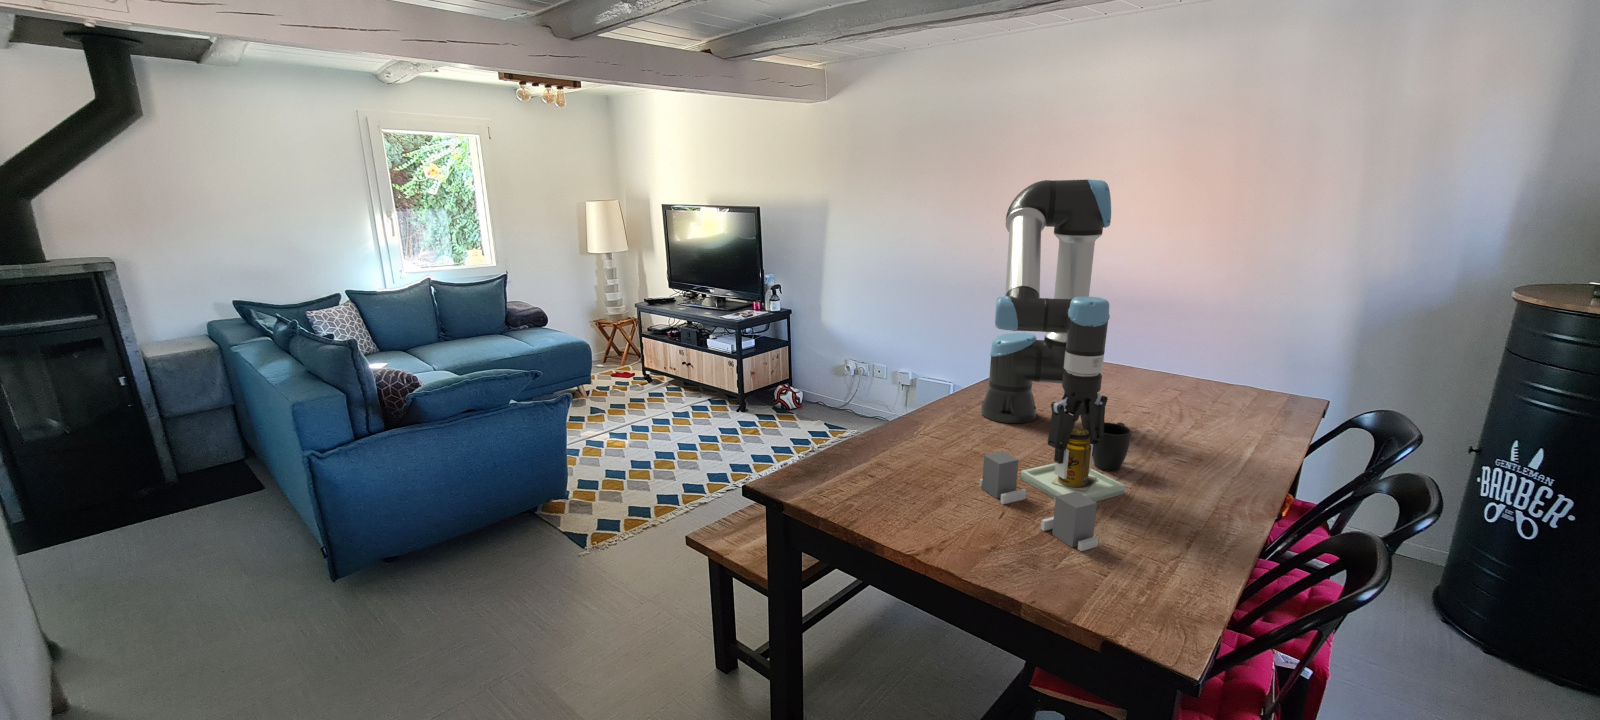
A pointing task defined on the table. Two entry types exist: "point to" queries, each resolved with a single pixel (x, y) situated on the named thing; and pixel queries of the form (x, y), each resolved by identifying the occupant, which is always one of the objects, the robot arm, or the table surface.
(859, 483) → the table surface
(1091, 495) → the tray
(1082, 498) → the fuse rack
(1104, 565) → the table surface
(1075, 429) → the condiment
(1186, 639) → the table surface
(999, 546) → the table surface
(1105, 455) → the mug
